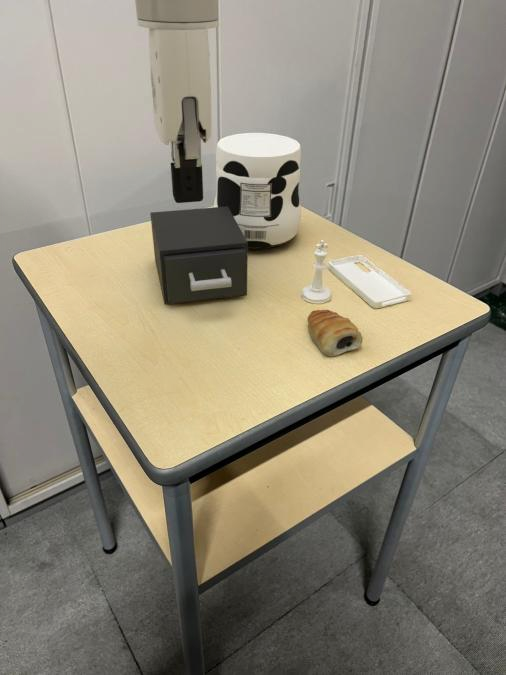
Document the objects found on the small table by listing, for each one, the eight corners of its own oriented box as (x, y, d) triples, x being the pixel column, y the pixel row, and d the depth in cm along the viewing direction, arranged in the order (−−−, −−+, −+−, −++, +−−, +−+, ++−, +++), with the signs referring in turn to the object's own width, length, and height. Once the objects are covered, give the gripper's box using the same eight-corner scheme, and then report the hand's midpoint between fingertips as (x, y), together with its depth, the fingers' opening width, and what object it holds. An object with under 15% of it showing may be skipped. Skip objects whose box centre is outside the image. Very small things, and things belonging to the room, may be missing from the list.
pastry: (295, 324, 79) (297, 303, 77) (334, 315, 81) (337, 295, 79) (325, 360, 72) (328, 338, 70) (366, 350, 74) (371, 328, 72)
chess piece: (335, 302, 85) (342, 246, 79) (306, 305, 84) (312, 249, 78) (325, 286, 88) (331, 232, 82) (297, 289, 87) (302, 235, 81)
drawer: (251, 308, 81) (252, 264, 76) (172, 318, 78) (168, 273, 73) (227, 256, 95) (227, 216, 90) (159, 263, 92) (155, 222, 87)
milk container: (265, 212, 113) (268, 126, 103) (317, 241, 102) (327, 148, 92) (197, 230, 105) (192, 139, 94) (245, 264, 94) (246, 165, 83)
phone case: (326, 267, 94) (374, 309, 83) (327, 261, 93) (375, 302, 82) (360, 260, 96) (411, 300, 85) (361, 253, 96) (413, 293, 85)
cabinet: (246, 295, 86) (247, 242, 80) (164, 304, 83) (159, 250, 77) (228, 254, 97) (227, 206, 91) (155, 262, 94) (150, 212, 88)
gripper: (130, 0, 52) (148, 179, 63) (142, 15, 41) (162, 230, 52) (203, 1, 54) (208, 175, 65) (235, 15, 42) (235, 224, 53)
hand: (188, 199), depth 58 cm, fingers closed
